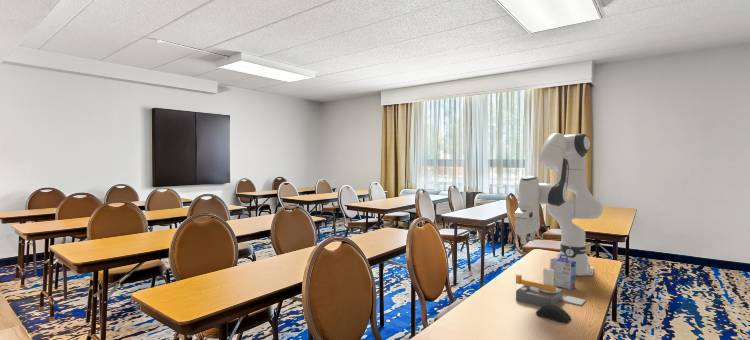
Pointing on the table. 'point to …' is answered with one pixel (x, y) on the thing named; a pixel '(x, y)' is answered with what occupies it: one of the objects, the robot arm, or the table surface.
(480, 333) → the table surface
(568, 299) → the pad
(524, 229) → the robot arm
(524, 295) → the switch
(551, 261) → the ink cartridge box
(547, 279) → the plug
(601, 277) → the table surface
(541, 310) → the computer mouse
